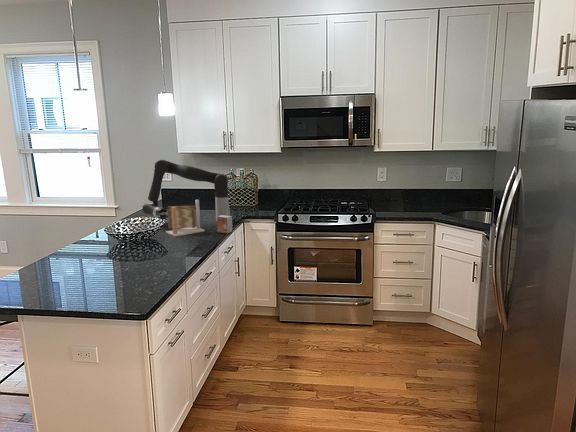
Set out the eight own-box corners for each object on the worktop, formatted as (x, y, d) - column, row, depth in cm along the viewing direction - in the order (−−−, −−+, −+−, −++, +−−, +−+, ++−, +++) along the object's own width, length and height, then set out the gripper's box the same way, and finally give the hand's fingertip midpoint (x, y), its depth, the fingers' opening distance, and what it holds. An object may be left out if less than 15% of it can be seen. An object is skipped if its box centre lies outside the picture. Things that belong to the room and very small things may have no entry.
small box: (217, 232, 292) (216, 216, 290) (222, 230, 297) (221, 214, 295) (227, 233, 289) (227, 217, 286) (232, 231, 293) (232, 215, 291)
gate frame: (194, 227, 304) (193, 198, 300) (204, 231, 295) (203, 200, 291) (165, 232, 291) (164, 202, 287) (175, 236, 281) (173, 204, 277)
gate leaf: (195, 227, 298) (194, 205, 295) (195, 227, 297) (194, 205, 294) (168, 228, 295) (167, 206, 292) (168, 228, 294) (167, 206, 291)
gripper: (150, 208, 302) (162, 212, 289) (169, 206, 311) (181, 210, 298) (151, 219, 304) (162, 224, 291) (169, 217, 312) (181, 221, 299)
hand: (172, 217), depth 294 cm, fingers closed
